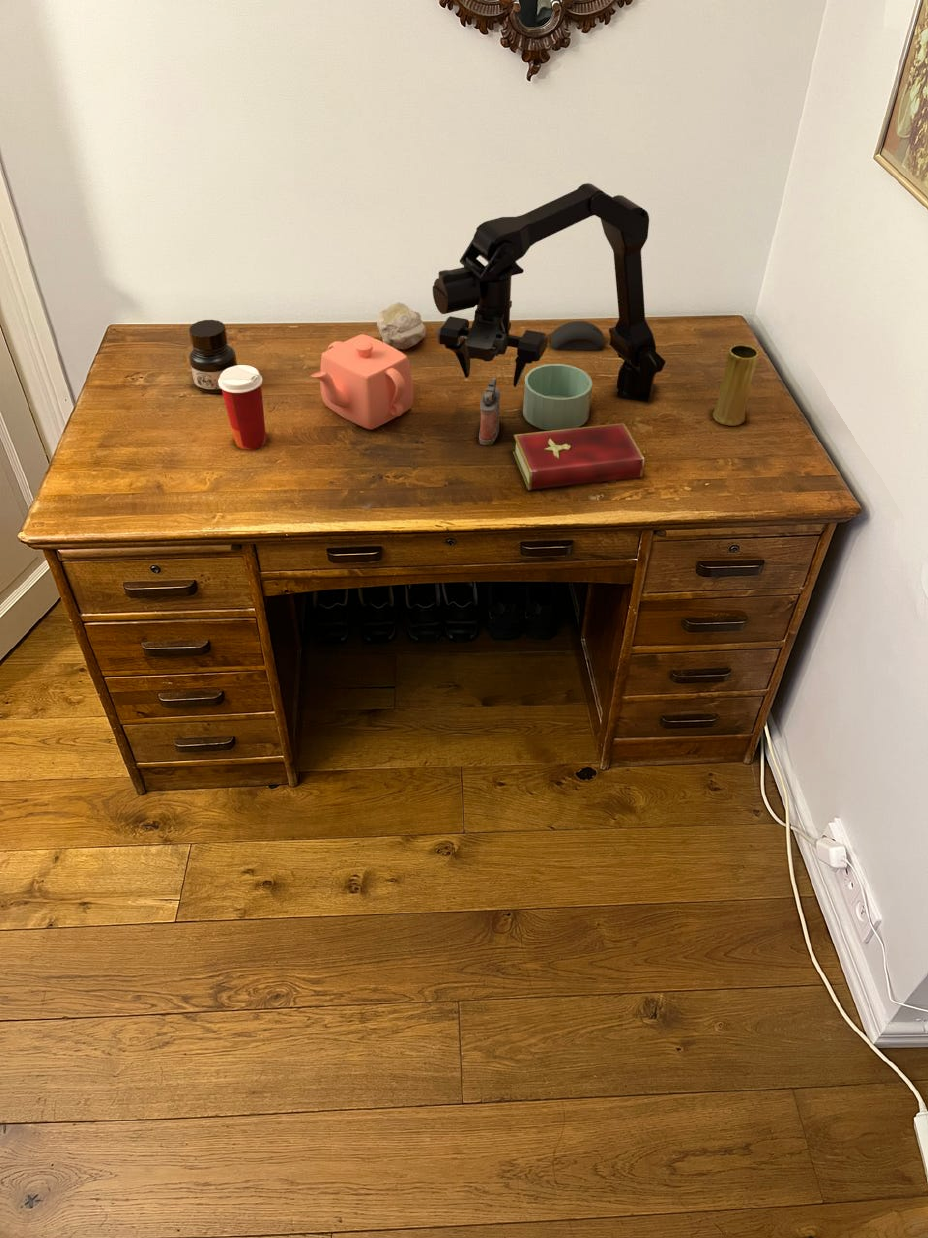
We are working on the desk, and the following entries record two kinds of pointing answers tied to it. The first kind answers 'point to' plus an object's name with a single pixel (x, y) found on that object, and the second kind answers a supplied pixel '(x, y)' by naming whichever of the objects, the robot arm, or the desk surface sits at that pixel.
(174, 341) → the desk surface
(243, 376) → the paper cup
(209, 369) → the ink bottle
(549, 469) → the hardcover book
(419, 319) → the grey rock
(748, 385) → the vase
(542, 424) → the pen pot
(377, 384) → the teapot
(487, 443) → the lighter
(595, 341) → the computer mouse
